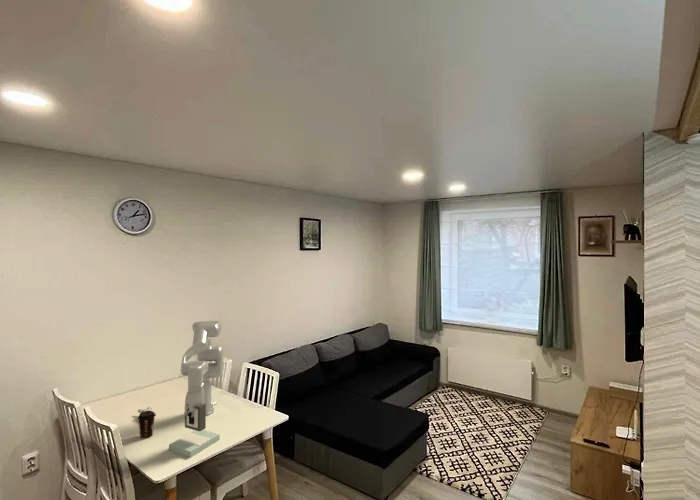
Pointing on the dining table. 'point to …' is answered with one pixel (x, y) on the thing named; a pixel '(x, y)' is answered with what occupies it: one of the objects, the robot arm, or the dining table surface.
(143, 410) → the bunny figurine
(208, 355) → the robot arm
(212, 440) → the sage stand
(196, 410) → the picture frame
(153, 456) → the dining table surface
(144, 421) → the coffee cup
